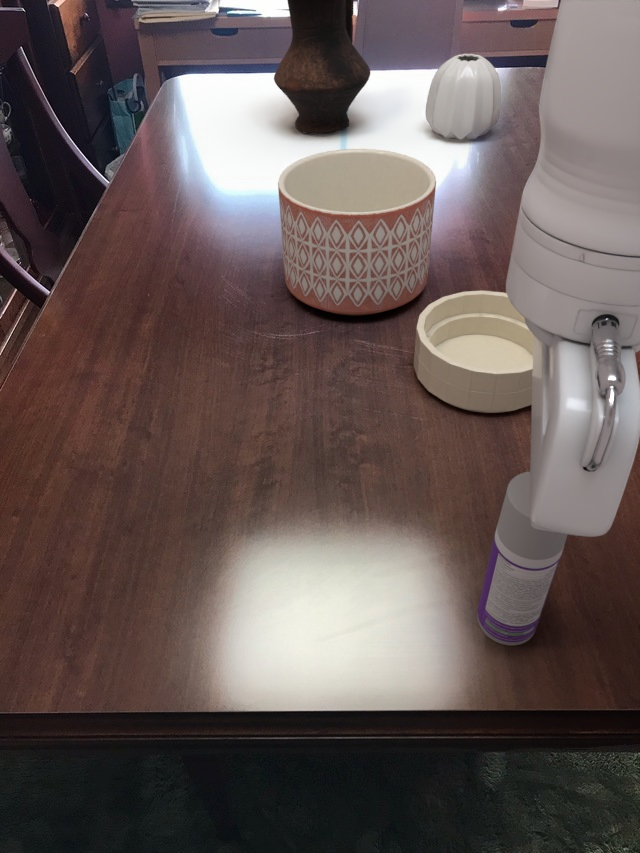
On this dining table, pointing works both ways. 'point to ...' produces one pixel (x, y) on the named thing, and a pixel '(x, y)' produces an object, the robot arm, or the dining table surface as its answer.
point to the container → (518, 570)
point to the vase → (464, 97)
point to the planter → (356, 229)
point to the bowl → (475, 352)
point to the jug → (321, 65)
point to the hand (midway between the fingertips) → (545, 464)
